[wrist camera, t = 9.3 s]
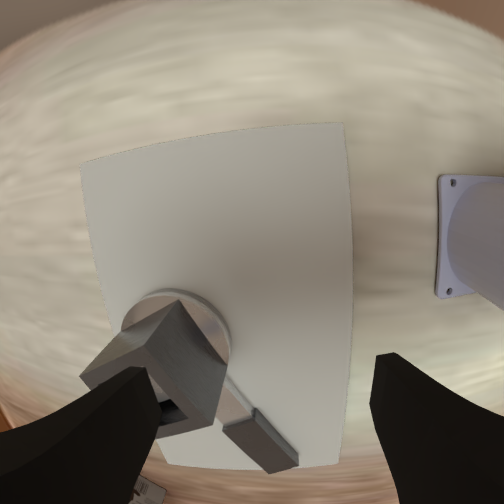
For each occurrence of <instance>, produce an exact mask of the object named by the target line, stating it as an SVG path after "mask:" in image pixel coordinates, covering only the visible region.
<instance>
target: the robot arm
mask: <svg viewBox="0 0 504 504" xmlns="http://www.w3.org/2000/svg"><path fill="white" fill-rule="evenodd" d="M451 179H452V180H453V185H452V186H451V184H450V181H451ZM438 187H439V251H438V268H437V280H436V290H435V294H436V296H437V297H438V298H440V299H446V298H451V297H456V296H461V295H466V294H471V293H476V292H477V293H479V294H480V295H482V296H483V297H485V298H486V299H487V300H489V301H490V302H492V303H493V304H495V305H496V306H498V307H499V308H500V309H502V310H503V311H504V177H497V176H478V175H441V176H440V177H439V180H438ZM448 288H450V289H449V291H448V292H447V289H448ZM446 292H447V293H446ZM369 404H370V409H371V413H372V418H373V422H374V426H375V430H376V433H377V436H378V438H379V441H380V444H381V446H382V449H383V452H384V454H385V457H386V460H387V463H388V465H389V468H390V471H391V474H392V477H393V479H394V482H395V486H396V489H397V493H398V498H399V503H400V504H504V416H501V415H498V414H496V413H493V412H491V411H489V410H487V409H484V408H482V407H480V406H478V405H476V404H474V403H472V402H470V401H468V400H466V399H465V398H463V397H461V396H459V395H458V394H456V393H454V392H453V391H451V390H449V389H448V388H446V387H445V386H443V385H441V384H440V383H438V382H437V381H435V380H434V379H432V378H431V377H430V376H428V375H427V374H425V373H424V372H422V371H421V370H419V369H418V368H417V367H415V366H414V365H412V364H411V363H410V362H408V361H407V360H405V359H404V358H402V357H401V356H400V355H398V354H396V353H395V352H393V353H388V354H382V355H376V362H375V370H374V377H373V384H372V390H371V397H370V403H369ZM161 415H162V410H161V408H160V405H159V402H158V400H157V397H156V395H155V392H154V389H153V386H152V384H151V381H150V378H149V375H148V372H147V369H146V367H133V366H130V367H128V368H126V369H124V370H122V371H121V372H119V373H118V374H116V375H114V376H113V377H111V378H110V379H108V380H107V381H105V382H104V383H102V384H101V385H99V386H97V387H96V388H94V389H93V390H91V391H90V392H88V393H87V394H85V395H83V396H82V397H80V398H79V399H77V400H75V401H73V402H72V403H70V404H68V405H66V406H65V407H63V408H61V409H59V410H58V411H56V412H54V413H52V414H50V415H48V416H46V417H44V418H41V419H39V420H37V421H34V422H32V423H29V424H27V425H24V426H21V427H17V428H14V429H11V430H8V431H5V432H0V504H129V501H130V497H131V494H132V491H133V489H134V486H135V483H136V481H137V479H138V477H139V474H140V472H141V470H142V467H143V465H144V463H145V461H146V458H147V456H148V454H149V451H150V449H151V447H152V444H153V442H154V440H155V437H156V434H157V430H158V427H159V423H160V419H161Z"/></svg>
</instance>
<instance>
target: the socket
mask: <svg viewBox="0 0 504 504" xmlns="http://www.w3.org/2000/svg"><path fill="white" fill-rule="evenodd" d="M130 366H133V367H141V366H143V367H146V369H147V372H148V373H149V375H150V376H151V377H152V378H153V379H154V381H155V382H156V383H157V384H158V385H159V386H160V388H161V389H162V390H163V391H164V392H165V393H166V394H167V395H168V397H169V398H170V399H168V400H165V401H162V402H159V405H160V408H161V410H162V415H161V419H160V423H159V427H158V430H157V434H156V437H155V439H160V438H165V437H169V436H174V435H178V434H182V433H186V432H190V431H194V430H197V429H201V428H205V427H208V426H212V425H213V423H214V419H215V415H216V411H217V407H218V403H219V399H220V395H221V391H222V387H223V383H224V379H225V375H226V371H227V367H228V366H227V364H226V363H225V362H224V360H223V359H222V358H221V357H220V355H219V354H218V353H217V351H216V350H215V349H214V347H213V346H212V345H211V343H210V342H209V341H208V339H207V338H206V337H205V335H204V334H203V332H202V331H201V330H200V328H199V327H198V326H197V324H196V323H195V321H194V320H193V319H192V317H191V316H190V314H189V313H188V312H187V310H186V309H185V307H184V306H183V304H182V303H181V301H180V300H179V299H178V300H176V301H174V302H172V303H170V304H169V305H167V306H165V307H163V308H161V309H160V310H158V311H156V312H154V313H153V314H151V315H149V316H147V317H145V318H144V319H142V320H140V321H138V322H136V323H135V324H133V325H131V326H129V327H128V328H126V329H124V330H122V331H120V332H119V333H118V334H117V335H116V336H115V337H114V338H113V340H112V341H111V342H110V343H109V344H108V345H107V346H106V347H105V348H104V349H103V350H102V351H101V352H100V354H99V355H98V356H97V357H96V358H95V359H94V360H93V361H92V362H91V363H90V365H89V366H88V367H87V368H86V369H85V370H84V371H83V372H82V373H81V374H80V376H79V377H80V378H81V379H82V380H83V381H84V383H85V384H86V385H87V386H88V387H89V389H90V390H93V389H94V388H96V387H97V386H99V385H101V384H102V383H104V382H105V381H107V380H108V379H110V378H111V377H113V376H114V375H116V374H118V373H119V372H121V371H122V370H124V369H126V368H128V367H130Z"/></svg>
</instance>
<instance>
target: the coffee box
mask: <svg viewBox="0 0 504 504" xmlns="http://www.w3.org/2000/svg"><path fill="white" fill-rule="evenodd" d="M165 494H166V490H165V489H163V488H161V487H159V486H158V485H156V484H154V483H152V482H151V481H149V480H147V479H145V478H144V477H142V476H140V475H139V477H138V479H137V481H136V483H135V486H134V489H133V491H132V494H131V497H130V501H129V504H162V503H163V500H164V497H165Z"/></svg>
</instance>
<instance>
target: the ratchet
mask: <svg viewBox="0 0 504 504" xmlns="http://www.w3.org/2000/svg"><path fill="white" fill-rule="evenodd" d="M178 299H179V300H180V301H181V303H182V304H183V306H184V307H185V309H186V310H187V312H188V313H189V314H190V316H191V317H192V319H193V320H194V321H195V323H196V324H197V326H198V327H199V328H200V330H201V331H202V332H203V334H204V335H205V337H206V338H207V339H208V341H209V342H210V343H211V345H212V346H213V347H214V349H215V350H216V351H217V353H218V354H219V355H220V357H221V358H222V359H223V360H224V362H225V363H226V364H227V366H228V362H229V358H230V354H231V349H232V338H231V333H230V330H229V327H228V325H227V322H226V321H225V319H224V317H223V316H222V315H221V313H220V312H219V311H218V310H217V309H216V308H215V307H214V306H213V305H212V304H211V303H210V302H208V301H207V300H206V299H204V298H202V297H201V296H199V295H197V294H195V293H192V292H190V291H187V290H182V289H176V288H164V289H158V290H155V291H152V292H150V293H148V294H146V295H145V296H144V297H142V298H141V299H140V300H139V301H138V302H137V303H136V304H135V305H134V306H133V307H132V308H131V309H130V310H129V311H128V312H127V314H126V315H125V317H124V319H123V322H122V325H121V331H122V330H124V329H126V328H128V327H129V326H131V325H133V324H135V323H136V322H138V321H140V320H142V319H144V318H145V317H147V316H149V315H151V314H153V313H154V312H156V311H158V310H160V309H161V308H163V307H165V306H167V305H169V304H170V303H172V302H174V301H176V300H178ZM141 367H143V366H141ZM148 375H149V373H148ZM149 378H150V381H151V384H152V386H153V389H154V392H155V395H156V397H157V400H158V402H162V401H165V400H168V399H170V398H169V397H168V395H167V394H166V393H165V392H164V391H163V390H162V389H161V388H160V386H159V385H158V384H157V383H156V382H155V381H154V379H153V378H152V377H151V376H150V375H149ZM215 417H216V418H217V419H218V420H219V421H220V422H221V423H222V424H223V428H222V432H223V433H224V434H225V435H226V436H227V437H228V438H229V439H230V440H232V441H233V442H234V443H235V444H236V445H237V446H238V447H239V448H240V449H241V450H242V451H243V452H244V453H245V454H246V455H248V456H249V457H250V458H251V459H252V460H253V461H254V462H255V463H257V464H258V465H259V466H260V467H261V468H262V469H263V470H265V471H266V472H267V473H268V474H272V473H276V472H280V471H283V470H287V469H291V468H294V467H297V466H299V454H298V453H297V452H296V451H295V450H294V449H293V448H292V447H291V445H290V444H289V443H288V442H287V441H286V440H285V439H284V438H283V437H282V436H281V435H280V434H279V432H278V431H277V430H276V429H275V428H274V427H273V426H272V425H271V424H270V422H269V421H268V420H267V419H266V418H265V417H264V416H263V414H262V413H261V412H260V411H259V410H258V409H257V408H253V407H252V405H251V404H250V403H249V402H248V401H247V399H246V398H245V397H244V396H243V395H242V394H241V392H240V391H239V390H238V389H237V388H236V386H235V385H234V384H233V383H232V381H231V380H230V379H229V378H228V376H227V375H225V379H224V383H223V387H222V391H221V395H220V399H219V403H218V407H217V411H216V415H215Z"/></svg>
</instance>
